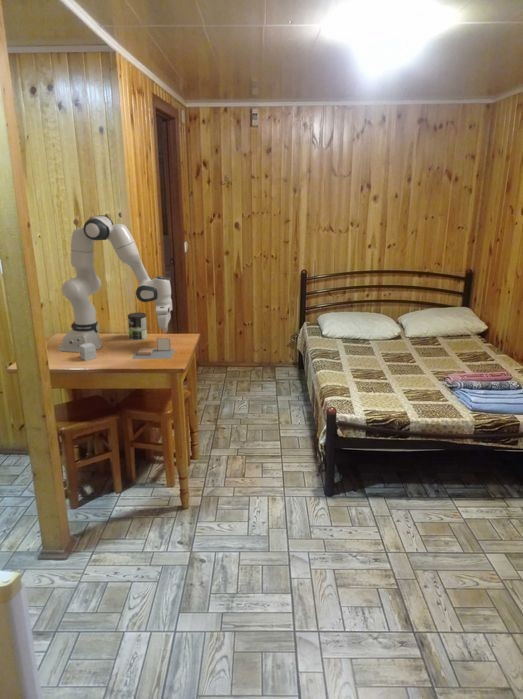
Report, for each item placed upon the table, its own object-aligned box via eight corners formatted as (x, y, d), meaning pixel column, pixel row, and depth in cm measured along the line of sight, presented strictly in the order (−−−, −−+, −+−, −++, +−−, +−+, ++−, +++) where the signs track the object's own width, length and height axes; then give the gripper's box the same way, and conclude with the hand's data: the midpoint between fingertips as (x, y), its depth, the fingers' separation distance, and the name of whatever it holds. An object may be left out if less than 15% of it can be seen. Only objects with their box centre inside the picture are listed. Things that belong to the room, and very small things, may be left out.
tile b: (157, 351, 263) (156, 338, 261) (157, 350, 264) (157, 337, 262) (170, 351, 263) (169, 338, 261) (170, 349, 265) (170, 337, 263)
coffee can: (133, 342, 278) (131, 318, 274) (126, 337, 286) (124, 314, 281) (150, 339, 284) (149, 315, 279) (143, 334, 292) (141, 311, 287)
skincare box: (96, 358, 252) (95, 344, 250) (85, 361, 248) (83, 347, 246) (91, 355, 256) (89, 342, 254) (80, 358, 252) (78, 344, 250)
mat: (131, 359, 251) (131, 358, 251) (137, 349, 266) (137, 348, 266) (171, 359, 252) (171, 358, 252) (175, 349, 267) (175, 348, 267)
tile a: (140, 351, 263) (137, 355, 256) (140, 348, 262) (137, 352, 255) (153, 350, 263) (151, 355, 256) (153, 347, 262) (151, 352, 256)
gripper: (160, 302, 272) (162, 326, 276) (154, 311, 253) (156, 337, 257) (172, 302, 272) (174, 326, 277) (167, 311, 253) (168, 337, 257)
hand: (165, 331), depth 267 cm, fingers closed
